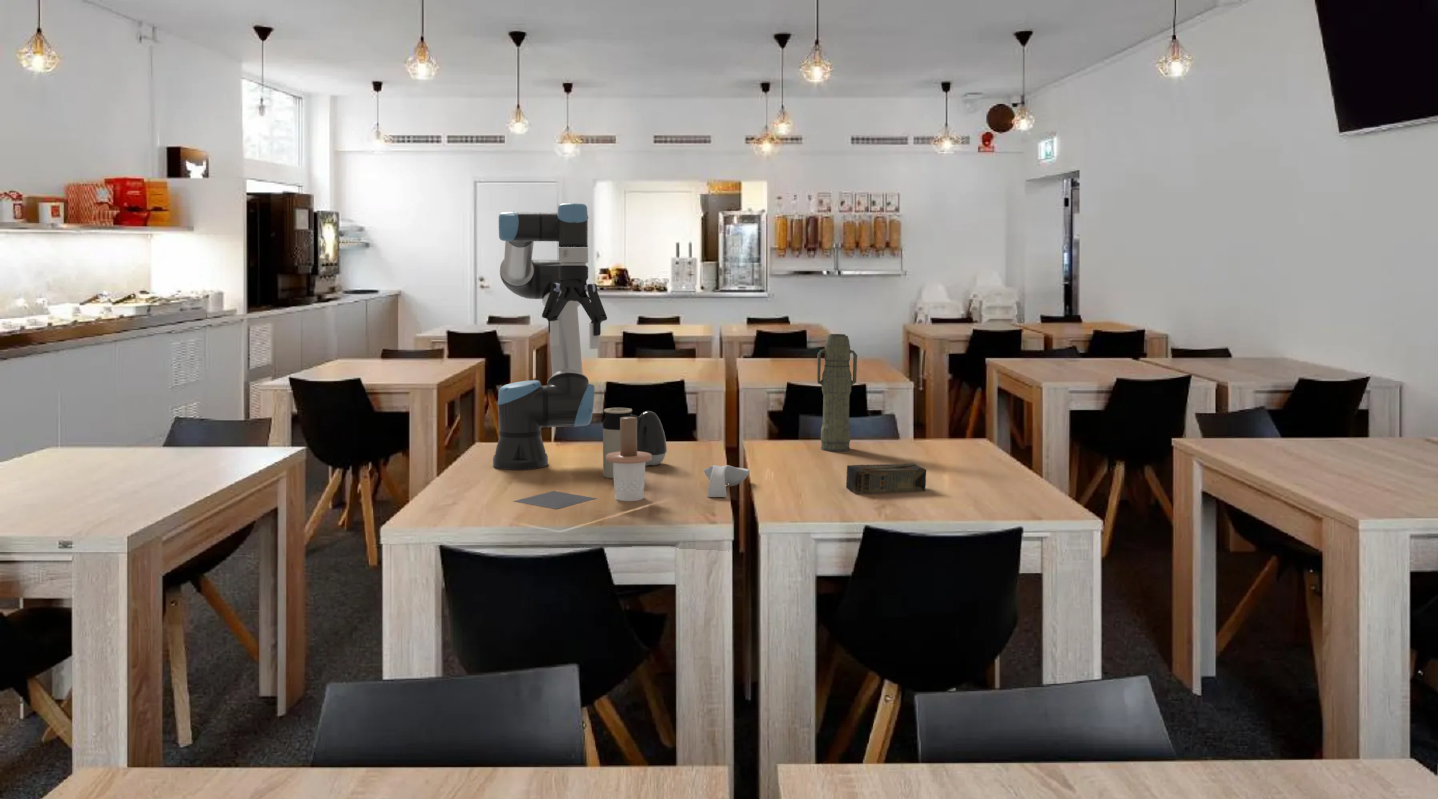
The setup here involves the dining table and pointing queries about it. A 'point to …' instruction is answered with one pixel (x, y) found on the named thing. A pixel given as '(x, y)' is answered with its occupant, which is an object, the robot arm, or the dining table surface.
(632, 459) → the lid
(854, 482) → the beverage carton
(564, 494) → the mat
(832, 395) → the thermos
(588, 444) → the dining table surface
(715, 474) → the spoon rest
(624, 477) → the white cup
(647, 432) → the pump dispenser
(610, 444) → the travel mug
